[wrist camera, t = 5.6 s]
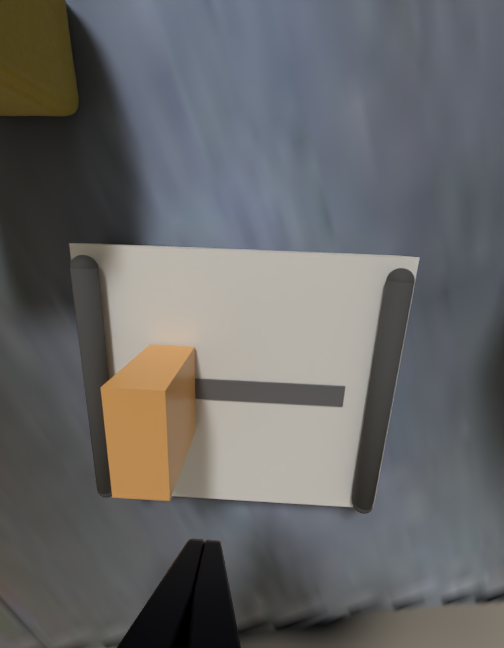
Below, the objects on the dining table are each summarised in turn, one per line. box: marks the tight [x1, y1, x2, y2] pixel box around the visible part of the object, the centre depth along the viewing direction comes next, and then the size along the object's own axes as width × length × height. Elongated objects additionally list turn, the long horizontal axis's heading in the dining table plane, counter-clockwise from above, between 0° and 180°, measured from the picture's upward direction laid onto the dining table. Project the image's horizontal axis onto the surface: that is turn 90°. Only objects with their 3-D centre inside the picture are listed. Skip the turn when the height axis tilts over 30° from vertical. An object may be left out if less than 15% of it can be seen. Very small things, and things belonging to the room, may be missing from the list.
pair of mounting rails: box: [70, 255, 415, 514], centre depth 16 cm, size 16×14×1 cm
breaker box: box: [69, 243, 420, 507], centre depth 17 cm, size 17×15×3 cm
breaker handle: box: [100, 345, 196, 501], centre depth 14 cm, size 2×5×5 cm, turn 178°
